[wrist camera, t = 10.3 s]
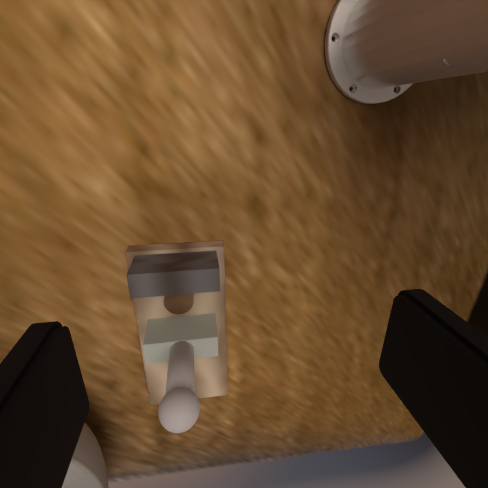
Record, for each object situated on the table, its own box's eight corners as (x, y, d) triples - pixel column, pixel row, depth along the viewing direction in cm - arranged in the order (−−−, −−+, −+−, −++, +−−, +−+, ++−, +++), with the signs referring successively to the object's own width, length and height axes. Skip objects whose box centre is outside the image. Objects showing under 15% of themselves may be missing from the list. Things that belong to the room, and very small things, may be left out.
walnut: (192, 276, 39) (192, 288, 36) (194, 299, 41) (194, 312, 38) (164, 278, 39) (162, 290, 36) (167, 302, 40) (165, 315, 37)
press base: (222, 240, 40) (228, 263, 34) (226, 384, 50) (231, 423, 44) (128, 245, 38) (116, 271, 32) (152, 394, 48) (146, 436, 42)
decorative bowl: (-66, 340, 39) (-166, 427, 28) (143, 372, 46) (128, 450, 35) (-71, 473, 47) (-150, 580, 36) (107, 482, 55) (86, 573, 44)
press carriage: (214, 310, 42) (226, 406, 28) (215, 333, 43) (227, 435, 29) (147, 316, 40) (124, 420, 26) (151, 340, 42) (131, 450, 28)
